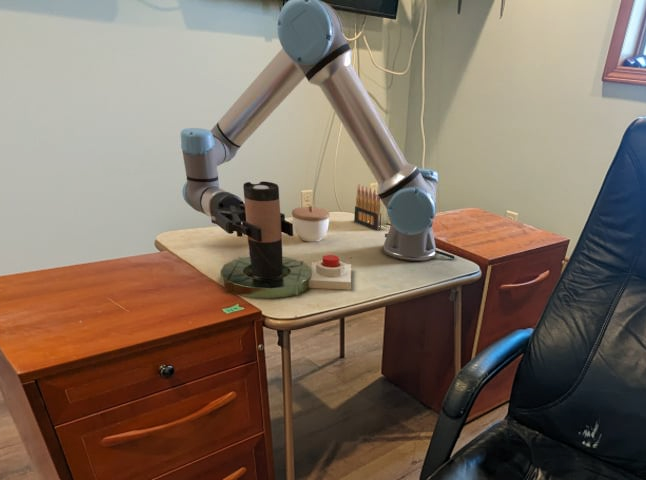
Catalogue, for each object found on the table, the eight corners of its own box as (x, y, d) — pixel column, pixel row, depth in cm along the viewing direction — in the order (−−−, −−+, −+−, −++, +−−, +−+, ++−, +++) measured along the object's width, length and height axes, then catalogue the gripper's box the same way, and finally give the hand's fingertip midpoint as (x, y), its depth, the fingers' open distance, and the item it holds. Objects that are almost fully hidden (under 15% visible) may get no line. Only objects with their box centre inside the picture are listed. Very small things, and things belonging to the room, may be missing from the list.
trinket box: (299, 245, 147) (298, 212, 142) (288, 234, 155) (286, 201, 149) (334, 243, 152) (335, 210, 146) (321, 231, 159) (321, 200, 154)
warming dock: (314, 267, 134) (314, 258, 133) (308, 300, 118) (307, 290, 116) (231, 262, 132) (230, 253, 130) (213, 295, 115) (211, 285, 113)
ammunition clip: (353, 221, 171) (355, 183, 164) (357, 221, 172) (359, 183, 165) (377, 230, 166) (379, 191, 159) (380, 229, 167) (383, 190, 160)
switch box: (350, 271, 134) (351, 256, 132) (350, 290, 125) (350, 274, 122) (312, 269, 133) (311, 254, 131) (308, 287, 123) (308, 271, 121)
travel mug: (276, 281, 120) (270, 191, 109) (245, 276, 121) (236, 186, 109) (288, 270, 126) (284, 184, 115) (259, 265, 127) (252, 179, 116)
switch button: (339, 263, 129) (339, 255, 128) (338, 269, 126) (338, 260, 124) (322, 262, 128) (322, 254, 127) (322, 268, 125) (322, 259, 124)
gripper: (261, 217, 135) (313, 242, 123) (186, 228, 123) (236, 257, 110) (259, 187, 131) (313, 209, 119) (181, 195, 119) (232, 221, 106)
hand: (276, 232), depth 115 cm, fingers closed on travel mug, 7 cm apart
